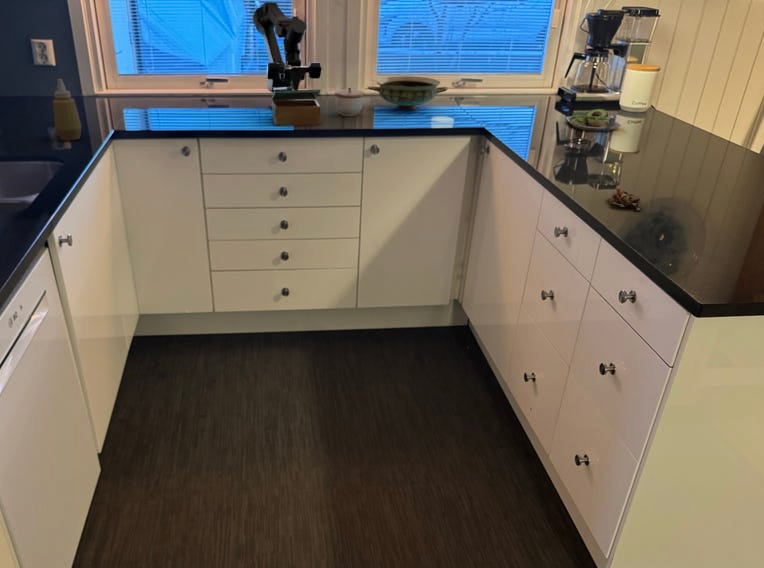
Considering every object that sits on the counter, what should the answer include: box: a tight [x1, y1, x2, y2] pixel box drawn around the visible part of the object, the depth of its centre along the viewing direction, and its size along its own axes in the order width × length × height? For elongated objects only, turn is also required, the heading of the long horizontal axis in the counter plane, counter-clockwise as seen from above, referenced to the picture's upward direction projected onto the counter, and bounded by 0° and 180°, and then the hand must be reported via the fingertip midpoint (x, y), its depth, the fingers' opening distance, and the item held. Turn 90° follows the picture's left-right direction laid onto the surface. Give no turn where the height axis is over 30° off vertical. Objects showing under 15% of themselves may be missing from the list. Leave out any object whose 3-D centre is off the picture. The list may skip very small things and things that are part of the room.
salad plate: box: [565, 108, 621, 132], centre depth 240 cm, size 19×18×5 cm
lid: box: [271, 89, 321, 101], centre depth 240 cm, size 13×16×1 cm
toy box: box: [271, 99, 321, 127], centre depth 243 cm, size 12×16×6 cm
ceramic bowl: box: [367, 75, 449, 111], centre depth 262 cm, size 30×24×10 cm
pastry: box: [608, 187, 641, 212], centre depth 171 cm, size 7×12×4 cm, turn 164°
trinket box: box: [334, 87, 365, 117], centre depth 253 cm, size 11×11×9 cm
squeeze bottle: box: [52, 78, 82, 142], centre depth 216 cm, size 8×8×18 cm
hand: (296, 91), depth 238 cm, fingers closed, pressing on lid
